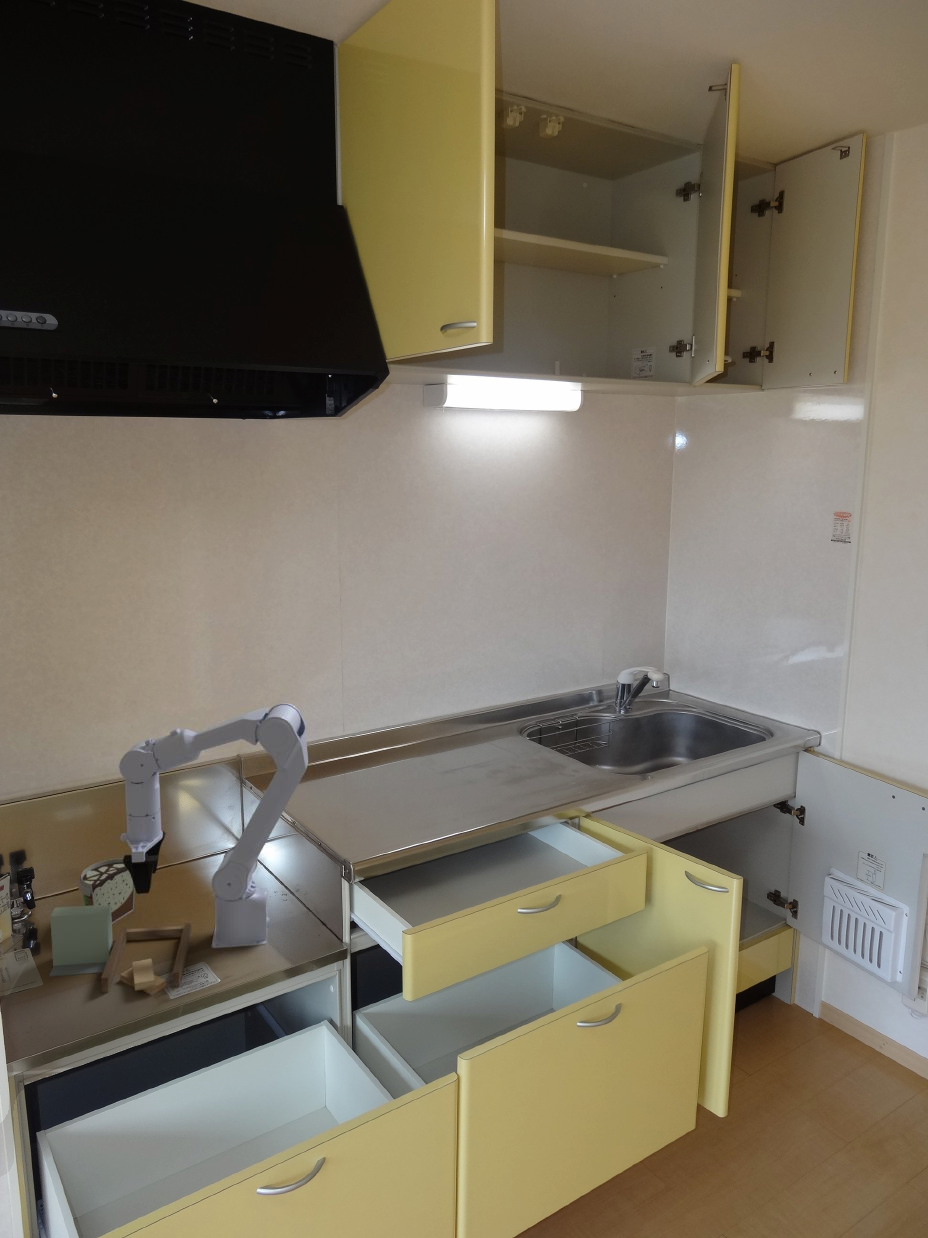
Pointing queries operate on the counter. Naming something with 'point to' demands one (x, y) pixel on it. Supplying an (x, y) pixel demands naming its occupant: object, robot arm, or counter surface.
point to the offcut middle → (159, 985)
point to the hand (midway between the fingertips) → (146, 882)
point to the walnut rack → (144, 934)
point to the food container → (108, 887)
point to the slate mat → (78, 969)
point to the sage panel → (81, 934)
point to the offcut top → (143, 974)
